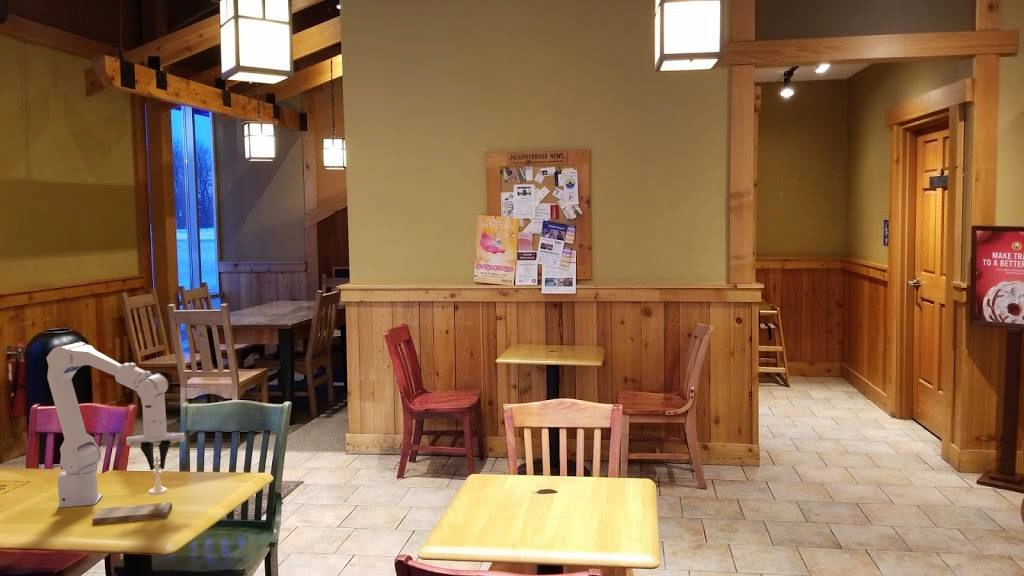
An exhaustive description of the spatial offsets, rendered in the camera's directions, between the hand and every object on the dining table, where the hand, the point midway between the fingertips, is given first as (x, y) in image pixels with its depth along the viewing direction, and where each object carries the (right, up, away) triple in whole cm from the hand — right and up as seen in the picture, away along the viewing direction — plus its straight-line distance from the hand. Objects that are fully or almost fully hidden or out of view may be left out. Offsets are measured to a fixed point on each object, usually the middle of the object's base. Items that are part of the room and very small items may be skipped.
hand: (157, 468), depth 236 cm
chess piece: (0, -7, +1) cm, 7 cm away
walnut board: (-3, -11, -8) cm, 14 cm away
